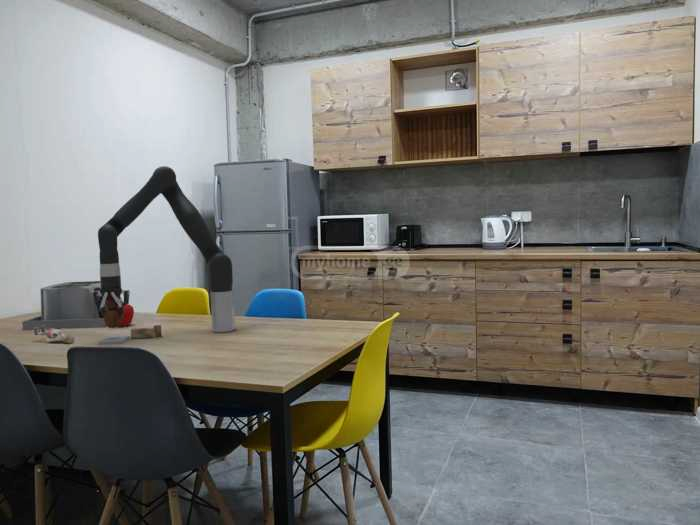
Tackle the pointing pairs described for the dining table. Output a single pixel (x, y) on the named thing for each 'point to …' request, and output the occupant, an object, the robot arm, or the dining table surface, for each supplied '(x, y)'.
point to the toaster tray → (63, 323)
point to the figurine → (54, 335)
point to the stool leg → (146, 332)
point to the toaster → (70, 301)
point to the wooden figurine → (112, 314)
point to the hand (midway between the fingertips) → (112, 316)
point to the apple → (127, 315)
